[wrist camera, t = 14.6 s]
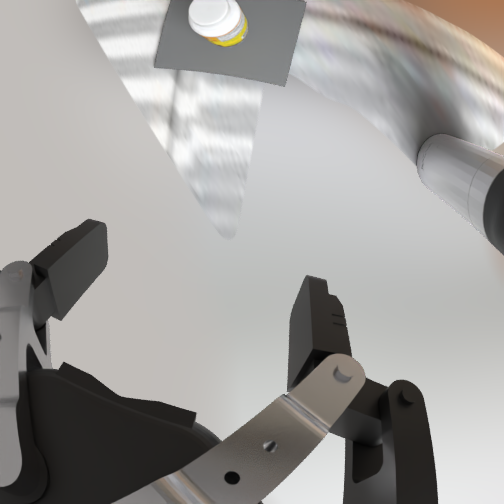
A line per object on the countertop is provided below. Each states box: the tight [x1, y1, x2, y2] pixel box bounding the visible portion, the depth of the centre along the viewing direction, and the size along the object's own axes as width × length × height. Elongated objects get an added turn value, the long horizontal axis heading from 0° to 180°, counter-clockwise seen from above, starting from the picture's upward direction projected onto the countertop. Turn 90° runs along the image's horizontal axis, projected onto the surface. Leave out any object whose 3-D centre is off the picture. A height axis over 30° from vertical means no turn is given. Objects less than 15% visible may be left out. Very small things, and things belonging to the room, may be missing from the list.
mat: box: [154, 0, 307, 87], centre depth 29 cm, size 18×13×1 cm
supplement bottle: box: [188, 0, 249, 47], centre depth 24 cm, size 6×6×10 cm
